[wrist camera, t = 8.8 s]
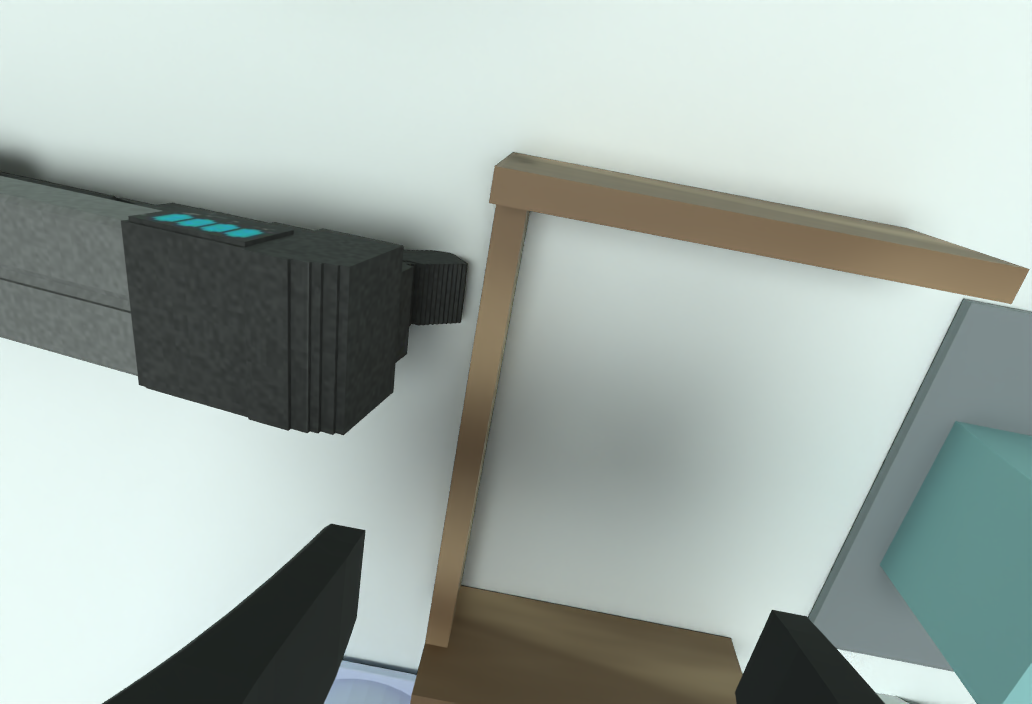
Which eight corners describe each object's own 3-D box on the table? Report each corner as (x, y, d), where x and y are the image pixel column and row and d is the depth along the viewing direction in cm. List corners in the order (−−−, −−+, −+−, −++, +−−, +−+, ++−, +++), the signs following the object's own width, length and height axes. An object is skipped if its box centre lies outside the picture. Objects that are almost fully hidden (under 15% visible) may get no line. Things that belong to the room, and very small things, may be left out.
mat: (975, 668, 23) (981, 676, 23) (800, 633, 23) (804, 642, 23) (1190, 342, 18) (1203, 346, 18) (963, 298, 18) (972, 302, 18)
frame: (724, 652, 24) (763, 780, 19) (438, 596, 24) (408, 711, 20) (906, 228, 18) (1029, 269, 13) (513, 152, 18) (494, 166, 13)
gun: (478, 355, 20) (233, 516, 11) (81, 231, 26) (-268, 272, 18) (495, 220, 18) (221, 286, 9) (66, 123, 25) (-328, 110, 16)
